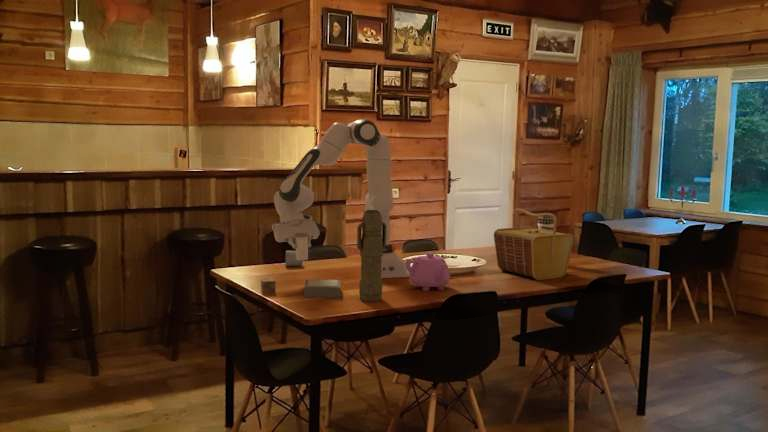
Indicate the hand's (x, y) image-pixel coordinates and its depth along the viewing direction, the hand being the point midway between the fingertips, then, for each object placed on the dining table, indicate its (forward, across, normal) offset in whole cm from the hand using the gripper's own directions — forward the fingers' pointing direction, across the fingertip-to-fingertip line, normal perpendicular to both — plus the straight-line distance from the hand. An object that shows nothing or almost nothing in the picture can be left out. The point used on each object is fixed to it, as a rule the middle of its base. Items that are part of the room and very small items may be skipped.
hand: (302, 247), depth 309 cm
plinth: (+26, -2, -4) cm, 27 cm away
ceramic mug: (-16, +14, +39) cm, 44 cm away
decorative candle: (+23, +131, +4) cm, 133 cm away
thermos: (+40, +10, -16) cm, 44 cm away
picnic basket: (+35, +104, -10) cm, 110 cm away
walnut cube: (+17, -20, +5) cm, 27 cm away
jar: (+3, 0, +4) cm, 5 cm away
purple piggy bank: (+36, +41, -12) cm, 56 cm away
